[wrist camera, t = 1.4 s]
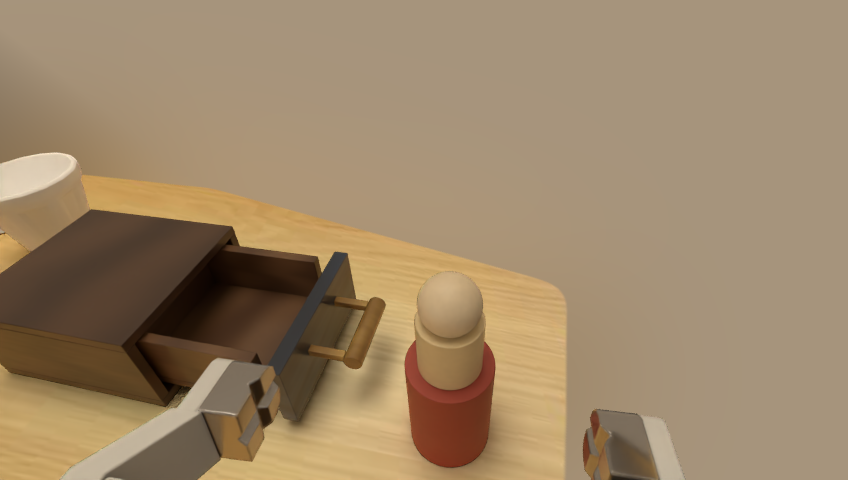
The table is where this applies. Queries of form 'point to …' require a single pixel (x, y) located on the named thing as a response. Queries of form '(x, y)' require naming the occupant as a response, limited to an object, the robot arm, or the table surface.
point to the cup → (40, 197)
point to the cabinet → (101, 299)
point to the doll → (449, 371)
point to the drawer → (262, 321)
